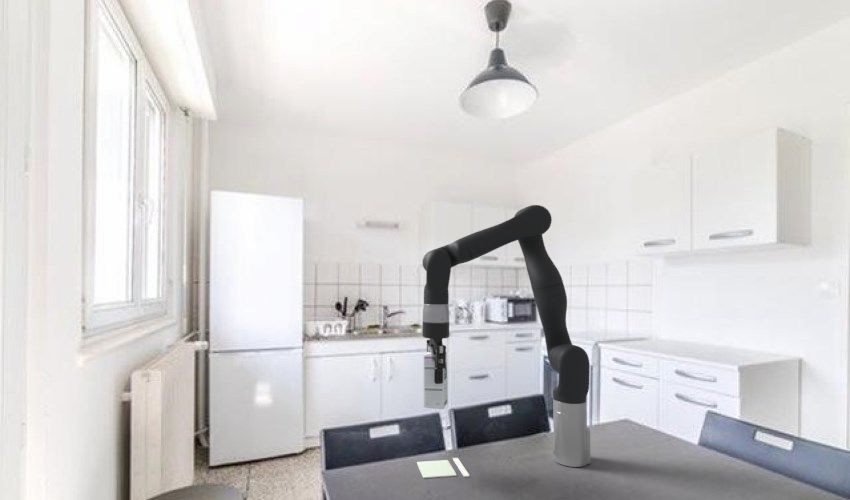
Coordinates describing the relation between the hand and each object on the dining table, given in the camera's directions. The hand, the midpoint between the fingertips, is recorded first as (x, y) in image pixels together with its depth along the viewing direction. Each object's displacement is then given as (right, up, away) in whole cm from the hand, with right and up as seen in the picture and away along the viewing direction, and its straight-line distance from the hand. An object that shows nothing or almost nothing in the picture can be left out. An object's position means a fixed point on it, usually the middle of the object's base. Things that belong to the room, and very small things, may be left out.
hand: (435, 380), depth 121 cm
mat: (0, -24, -2) cm, 24 cm away
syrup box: (0, -7, -1) cm, 7 cm away
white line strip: (+7, -24, 0) cm, 25 cm away
